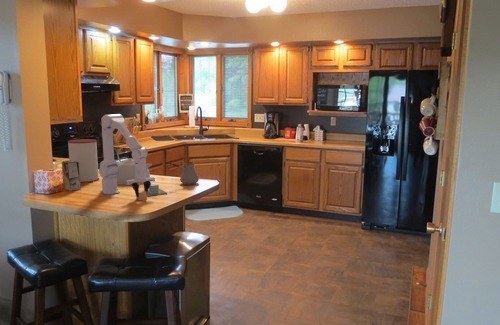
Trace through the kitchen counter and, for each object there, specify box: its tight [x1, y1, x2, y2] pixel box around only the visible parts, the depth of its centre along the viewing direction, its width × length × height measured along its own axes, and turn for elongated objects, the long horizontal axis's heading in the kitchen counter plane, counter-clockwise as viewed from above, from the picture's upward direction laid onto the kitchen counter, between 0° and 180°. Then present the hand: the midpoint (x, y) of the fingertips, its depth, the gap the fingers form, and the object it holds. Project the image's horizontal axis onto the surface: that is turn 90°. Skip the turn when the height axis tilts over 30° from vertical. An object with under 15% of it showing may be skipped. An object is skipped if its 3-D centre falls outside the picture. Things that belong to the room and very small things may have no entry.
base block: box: [149, 183, 160, 193], centre depth 234 cm, size 4×4×4 cm
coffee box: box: [61, 159, 81, 192], centre depth 242 cm, size 9×6×16 cm
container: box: [67, 138, 100, 184], centre depth 265 cm, size 17×17×25 cm
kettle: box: [117, 144, 153, 186], centre depth 264 cm, size 25×23×22 cm
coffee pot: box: [165, 161, 200, 186], centre depth 253 cm, size 21×12×15 cm, turn 132°
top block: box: [136, 189, 148, 201], centre depth 222 cm, size 4×4×4 cm
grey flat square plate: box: [147, 188, 168, 198], centre depth 234 cm, size 11×11×1 cm
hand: (141, 196), depth 222 cm, fingers closed on top block, 4 cm apart
